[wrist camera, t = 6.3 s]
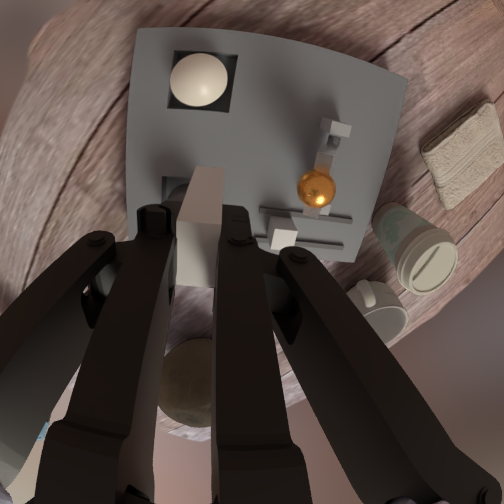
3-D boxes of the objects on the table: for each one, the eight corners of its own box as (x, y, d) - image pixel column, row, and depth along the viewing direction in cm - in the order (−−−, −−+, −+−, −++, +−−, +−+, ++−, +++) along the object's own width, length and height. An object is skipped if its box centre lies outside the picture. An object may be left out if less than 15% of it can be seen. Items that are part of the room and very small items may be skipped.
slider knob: (266, 234, 32) (270, 249, 29) (270, 215, 31) (274, 228, 28) (287, 236, 32) (292, 251, 30) (291, 218, 31) (297, 231, 29)
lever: (307, 191, 29) (283, 230, 20) (321, 132, 25) (303, 142, 17) (333, 199, 28) (321, 242, 20) (349, 139, 25) (346, 154, 16)
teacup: (385, 309, 47) (403, 341, 41) (331, 326, 48) (344, 362, 41) (390, 248, 40) (416, 280, 33) (325, 266, 40) (342, 304, 34)
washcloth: (500, 152, 32) (512, 158, 29) (440, 209, 37) (451, 218, 35) (482, 92, 26) (496, 95, 24) (414, 148, 32) (427, 155, 29)
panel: (137, 227, 34) (121, 258, 29) (148, 34, 22) (127, 22, 16) (343, 246, 39) (362, 276, 33) (389, 77, 26) (423, 80, 20)
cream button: (177, 101, 25) (167, 104, 21) (183, 58, 23) (173, 52, 18) (223, 105, 26) (223, 108, 22) (230, 61, 24) (231, 55, 19)
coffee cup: (405, 182, 34) (460, 224, 24) (417, 229, 38) (462, 276, 28) (355, 210, 36) (399, 262, 26) (372, 255, 40) (409, 309, 30)
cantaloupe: (195, 307, 43) (189, 392, 30) (255, 347, 49) (264, 422, 37) (145, 344, 47) (132, 417, 34) (202, 376, 53) (202, 442, 41)
